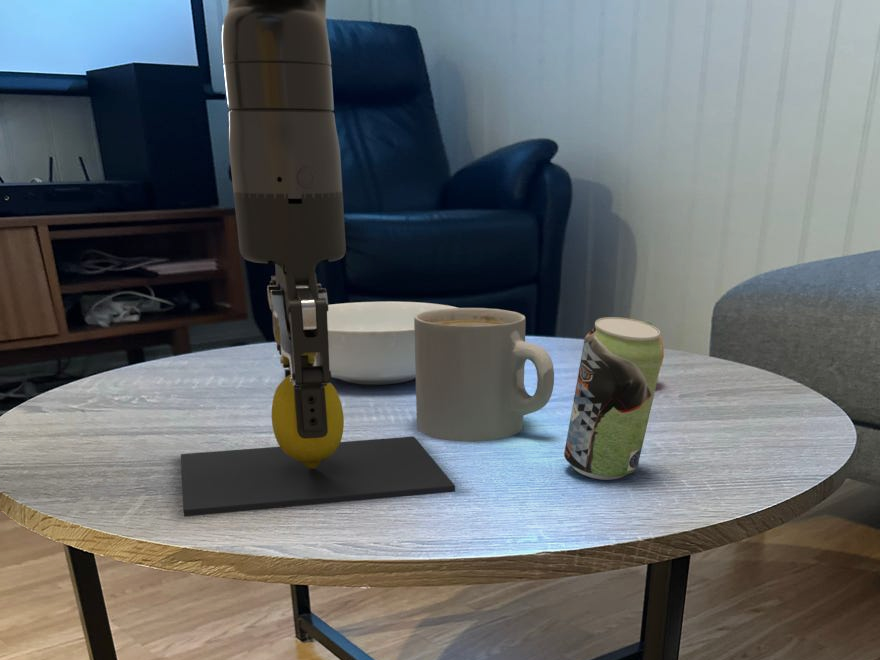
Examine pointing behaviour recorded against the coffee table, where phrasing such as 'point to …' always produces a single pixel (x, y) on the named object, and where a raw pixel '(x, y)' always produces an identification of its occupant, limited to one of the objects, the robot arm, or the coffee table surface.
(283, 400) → the lemon
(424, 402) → the coffee mug
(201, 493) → the mat
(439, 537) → the coffee table surface
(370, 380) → the serving bowl
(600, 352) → the beverage can
